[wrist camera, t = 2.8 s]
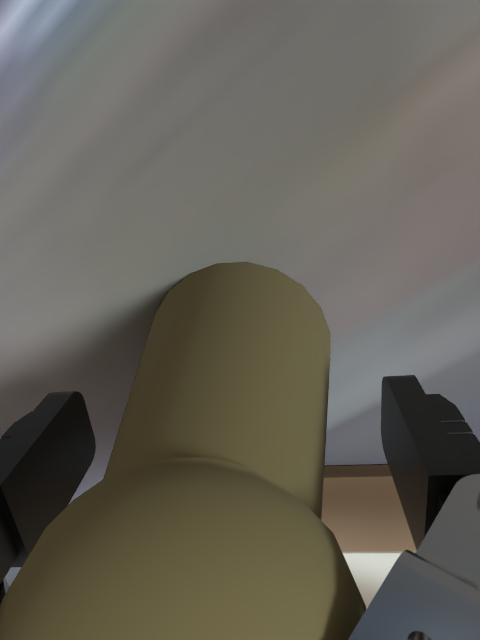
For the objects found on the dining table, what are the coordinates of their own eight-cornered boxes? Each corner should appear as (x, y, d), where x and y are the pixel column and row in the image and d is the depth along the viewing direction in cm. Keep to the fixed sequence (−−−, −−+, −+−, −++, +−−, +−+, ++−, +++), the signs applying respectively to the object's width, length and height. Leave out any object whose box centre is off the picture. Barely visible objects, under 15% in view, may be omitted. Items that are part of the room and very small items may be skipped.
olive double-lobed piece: (150, 414, 16) (-60, 880, 6) (149, 252, 14) (-198, 588, 4) (316, 433, 16) (379, 954, 6) (346, 271, 14) (538, 687, 3)
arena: (125, 471, 17) (90, 548, 14) (629, 458, 15) (722, 545, 12) (181, 686, 23) (165, 778, 20) (559, 698, 21) (610, 803, 17)
